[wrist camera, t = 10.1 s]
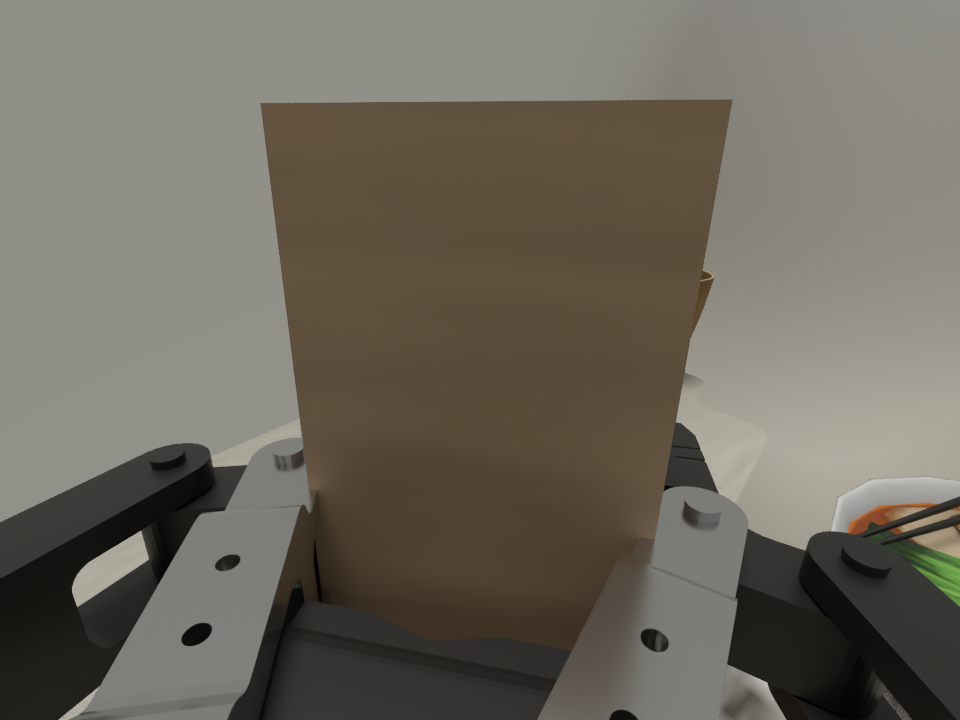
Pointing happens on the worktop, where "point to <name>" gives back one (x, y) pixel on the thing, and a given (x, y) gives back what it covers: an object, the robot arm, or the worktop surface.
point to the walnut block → (489, 344)
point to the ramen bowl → (909, 523)
